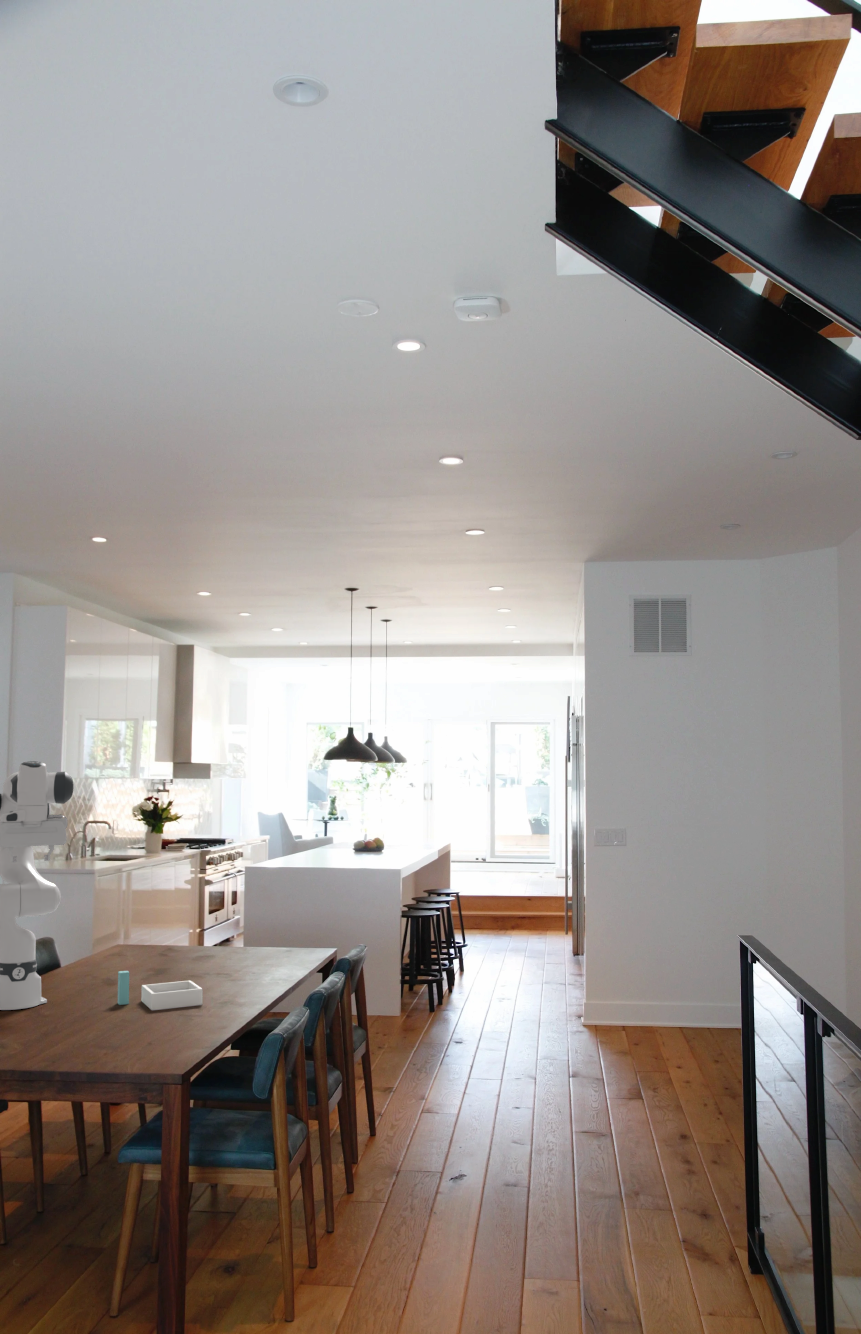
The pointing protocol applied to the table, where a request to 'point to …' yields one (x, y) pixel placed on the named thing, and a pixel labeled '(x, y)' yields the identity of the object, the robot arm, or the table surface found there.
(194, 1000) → the box
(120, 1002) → the peg
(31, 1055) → the table surface
